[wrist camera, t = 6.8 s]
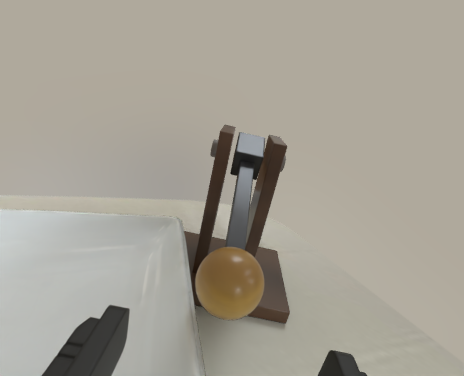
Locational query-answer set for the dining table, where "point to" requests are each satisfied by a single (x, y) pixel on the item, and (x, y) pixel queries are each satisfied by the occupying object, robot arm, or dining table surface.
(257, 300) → the lever
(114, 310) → the robot arm
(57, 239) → the square plate
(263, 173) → the latch bracket
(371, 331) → the dining table surface
